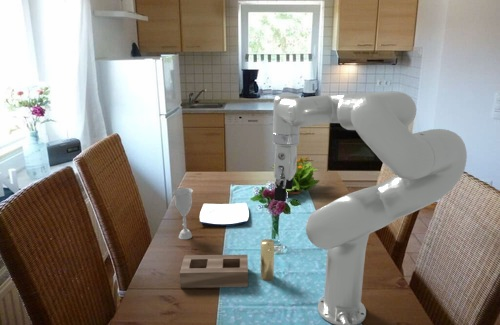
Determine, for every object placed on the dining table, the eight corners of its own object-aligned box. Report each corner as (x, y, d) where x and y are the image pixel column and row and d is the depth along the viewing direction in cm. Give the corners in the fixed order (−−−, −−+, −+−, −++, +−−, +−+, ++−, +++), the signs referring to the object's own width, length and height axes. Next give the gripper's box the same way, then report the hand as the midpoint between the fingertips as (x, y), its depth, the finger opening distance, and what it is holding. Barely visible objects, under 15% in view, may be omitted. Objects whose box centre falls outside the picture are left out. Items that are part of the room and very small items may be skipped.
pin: (274, 280, 121) (274, 245, 117) (261, 280, 121) (261, 245, 117) (273, 273, 125) (273, 238, 121) (260, 273, 125) (260, 239, 121)
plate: (197, 229, 156) (197, 222, 155) (202, 208, 175) (201, 202, 174) (249, 228, 156) (249, 221, 155) (248, 207, 176) (248, 202, 175)
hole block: (248, 286, 118) (247, 271, 116) (180, 287, 118) (179, 272, 116) (247, 268, 127) (247, 254, 126) (185, 269, 127) (184, 255, 126)
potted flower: (259, 186, 201) (259, 153, 196) (299, 179, 211) (300, 147, 206) (284, 203, 180) (284, 166, 175) (327, 195, 189) (329, 159, 184)
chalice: (186, 230, 154) (184, 186, 149) (198, 235, 150) (196, 190, 145) (171, 237, 148) (168, 192, 143) (184, 242, 144) (181, 196, 139)
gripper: (292, 147, 104) (290, 207, 109) (304, 132, 119) (301, 185, 125) (265, 144, 106) (263, 203, 111) (279, 130, 122) (278, 183, 127)
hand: (283, 194), depth 118 cm, fingers open, 9 cm apart
